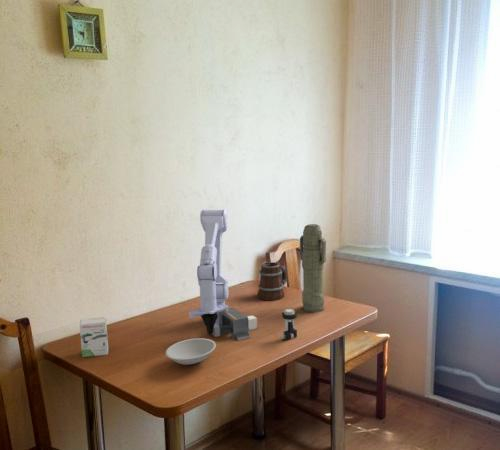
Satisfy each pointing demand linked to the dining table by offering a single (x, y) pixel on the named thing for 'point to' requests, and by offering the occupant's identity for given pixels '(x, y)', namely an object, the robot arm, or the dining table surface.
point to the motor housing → (235, 323)
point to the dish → (190, 350)
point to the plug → (226, 330)
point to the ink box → (94, 336)
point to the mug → (271, 281)
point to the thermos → (313, 267)
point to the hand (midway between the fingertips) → (209, 333)
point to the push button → (289, 324)
